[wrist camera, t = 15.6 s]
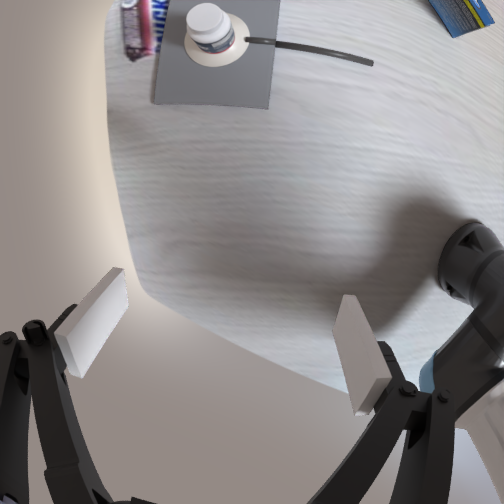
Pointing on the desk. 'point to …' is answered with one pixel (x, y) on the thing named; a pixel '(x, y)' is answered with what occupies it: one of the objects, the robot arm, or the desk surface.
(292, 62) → the desk surface
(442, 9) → the label tape cartridge
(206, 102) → the board
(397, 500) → the robot arm
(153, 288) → the desk surface
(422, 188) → the desk surface
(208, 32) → the pill bottle
